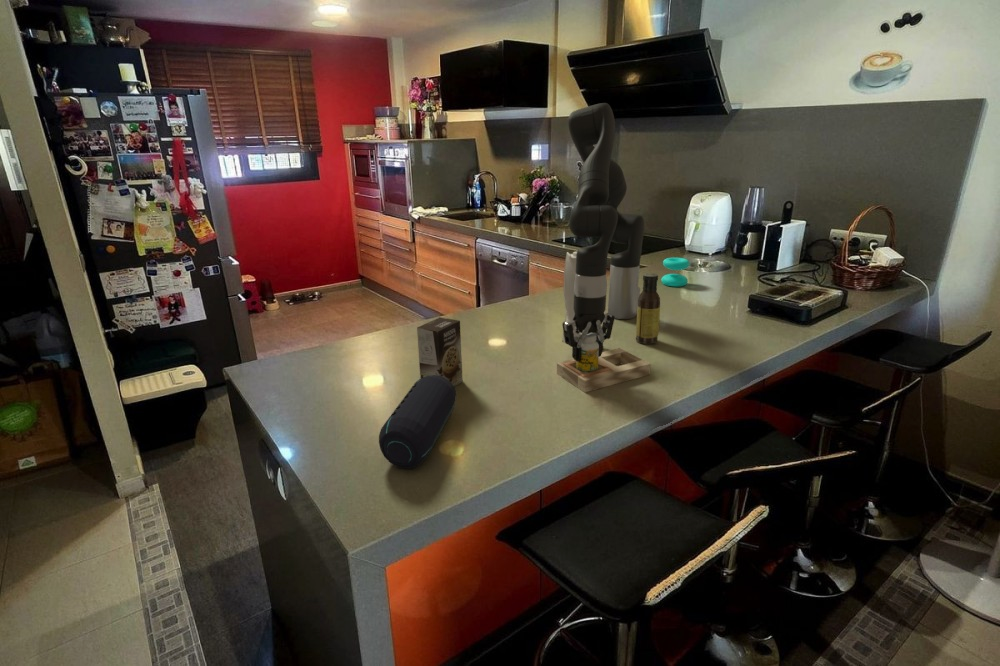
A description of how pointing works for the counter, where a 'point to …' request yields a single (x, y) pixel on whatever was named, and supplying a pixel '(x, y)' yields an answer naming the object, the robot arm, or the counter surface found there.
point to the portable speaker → (417, 422)
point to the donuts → (675, 279)
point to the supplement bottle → (588, 354)
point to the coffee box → (440, 349)
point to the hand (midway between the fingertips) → (587, 357)
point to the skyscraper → (569, 287)
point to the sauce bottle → (648, 311)
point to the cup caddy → (605, 370)
